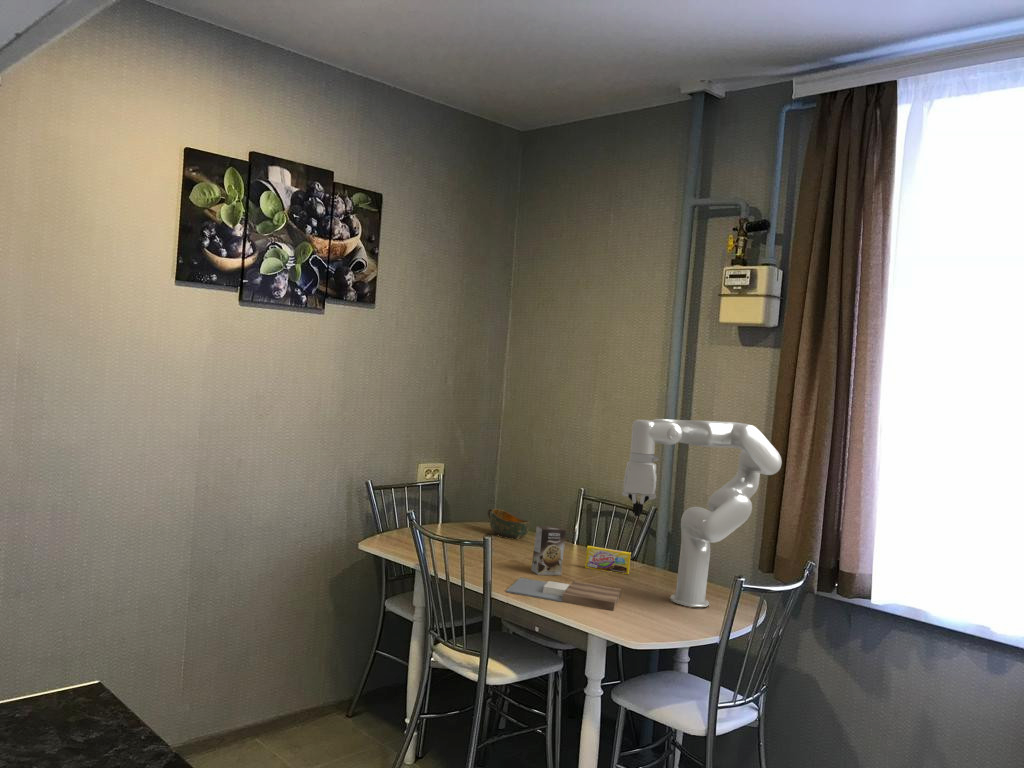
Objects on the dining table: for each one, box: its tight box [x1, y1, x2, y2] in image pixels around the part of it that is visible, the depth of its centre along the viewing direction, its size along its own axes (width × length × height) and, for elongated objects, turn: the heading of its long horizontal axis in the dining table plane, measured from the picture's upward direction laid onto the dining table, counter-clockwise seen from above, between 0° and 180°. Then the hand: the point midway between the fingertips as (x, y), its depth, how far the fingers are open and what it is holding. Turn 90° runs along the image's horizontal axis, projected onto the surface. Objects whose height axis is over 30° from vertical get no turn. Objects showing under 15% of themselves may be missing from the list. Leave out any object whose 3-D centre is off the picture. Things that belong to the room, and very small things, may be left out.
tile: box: [543, 580, 571, 596], centre depth 268 cm, size 8×7×2 cm
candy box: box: [584, 545, 632, 575], centre depth 307 cm, size 16×2×8 cm, turn 76°
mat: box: [505, 577, 563, 603], centre depth 270 cm, size 19×18×1 cm
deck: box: [561, 580, 622, 611], centre depth 266 cm, size 18×16×2 cm
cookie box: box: [530, 525, 567, 576], centre depth 294 cm, size 9×6×16 cm
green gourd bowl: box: [487, 507, 531, 540], centre depth 351 cm, size 13×20×10 cm, turn 24°
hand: (637, 515), depth 266 cm, fingers closed
